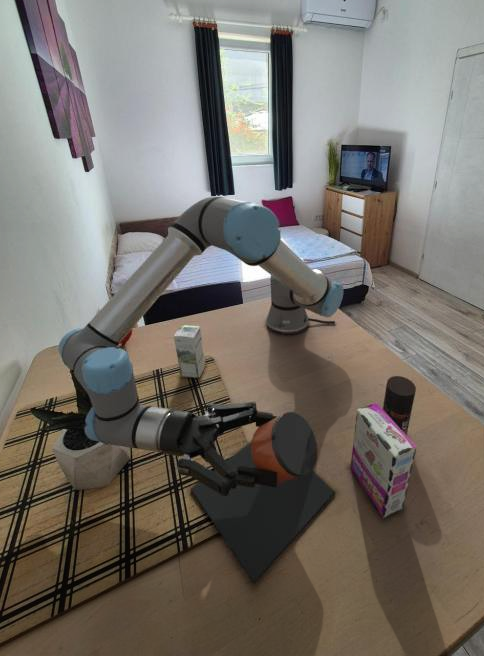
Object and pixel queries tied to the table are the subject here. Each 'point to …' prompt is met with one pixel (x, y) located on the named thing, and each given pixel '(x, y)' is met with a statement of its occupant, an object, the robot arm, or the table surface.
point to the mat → (262, 514)
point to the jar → (285, 447)
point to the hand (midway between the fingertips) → (283, 449)
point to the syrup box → (189, 351)
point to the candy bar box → (382, 458)
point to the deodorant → (399, 401)
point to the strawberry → (126, 338)
